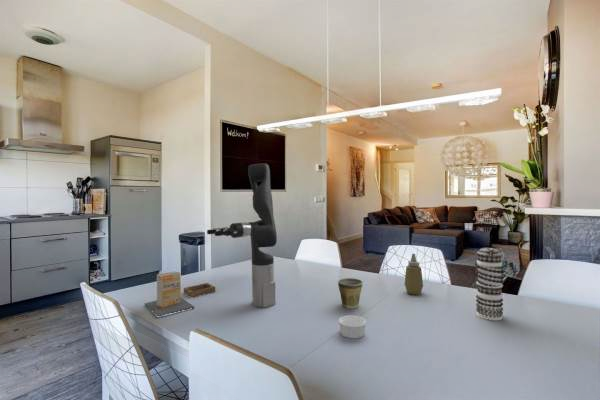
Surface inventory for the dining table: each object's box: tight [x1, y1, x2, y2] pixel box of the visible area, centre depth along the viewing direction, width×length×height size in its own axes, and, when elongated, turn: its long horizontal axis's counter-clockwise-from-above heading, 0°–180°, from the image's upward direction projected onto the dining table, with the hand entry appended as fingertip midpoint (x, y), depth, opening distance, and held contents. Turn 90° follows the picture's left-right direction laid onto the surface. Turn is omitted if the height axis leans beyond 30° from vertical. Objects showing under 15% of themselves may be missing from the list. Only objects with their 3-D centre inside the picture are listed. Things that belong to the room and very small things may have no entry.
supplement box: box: [156, 270, 182, 308], centre depth 127 cm, size 8×5×13 cm, turn 139°
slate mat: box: [144, 297, 195, 316], centre depth 127 cm, size 18×14×1 cm
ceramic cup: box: [337, 277, 363, 310], centre depth 127 cm, size 13×10×10 cm
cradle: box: [183, 282, 216, 298], centre depth 145 cm, size 9×12×2 cm
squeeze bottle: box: [404, 253, 424, 295], centre depth 140 cm, size 8×8×18 cm
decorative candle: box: [474, 247, 505, 321], centre depth 113 cm, size 9×9×25 cm
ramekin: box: [338, 315, 367, 339], centre depth 101 cm, size 9×9×4 cm
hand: (211, 233), depth 147 cm, fingers open, 8 cm apart
